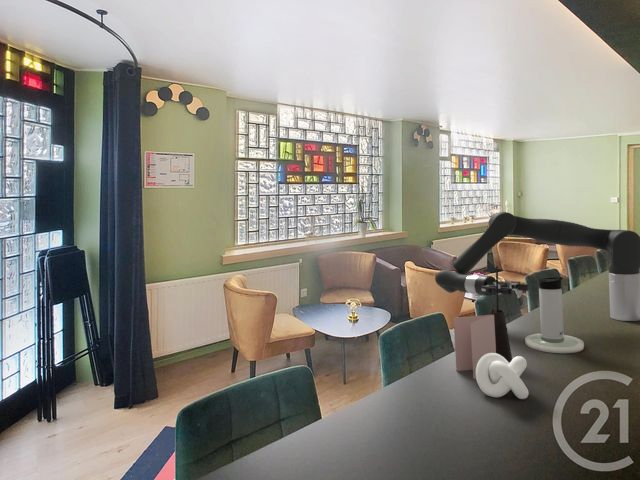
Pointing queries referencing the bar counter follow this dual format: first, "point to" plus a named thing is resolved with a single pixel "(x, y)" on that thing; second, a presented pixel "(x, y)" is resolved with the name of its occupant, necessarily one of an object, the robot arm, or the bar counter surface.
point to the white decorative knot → (501, 375)
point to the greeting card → (473, 340)
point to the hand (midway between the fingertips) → (519, 289)
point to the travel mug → (551, 309)
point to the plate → (555, 344)
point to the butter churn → (501, 329)
